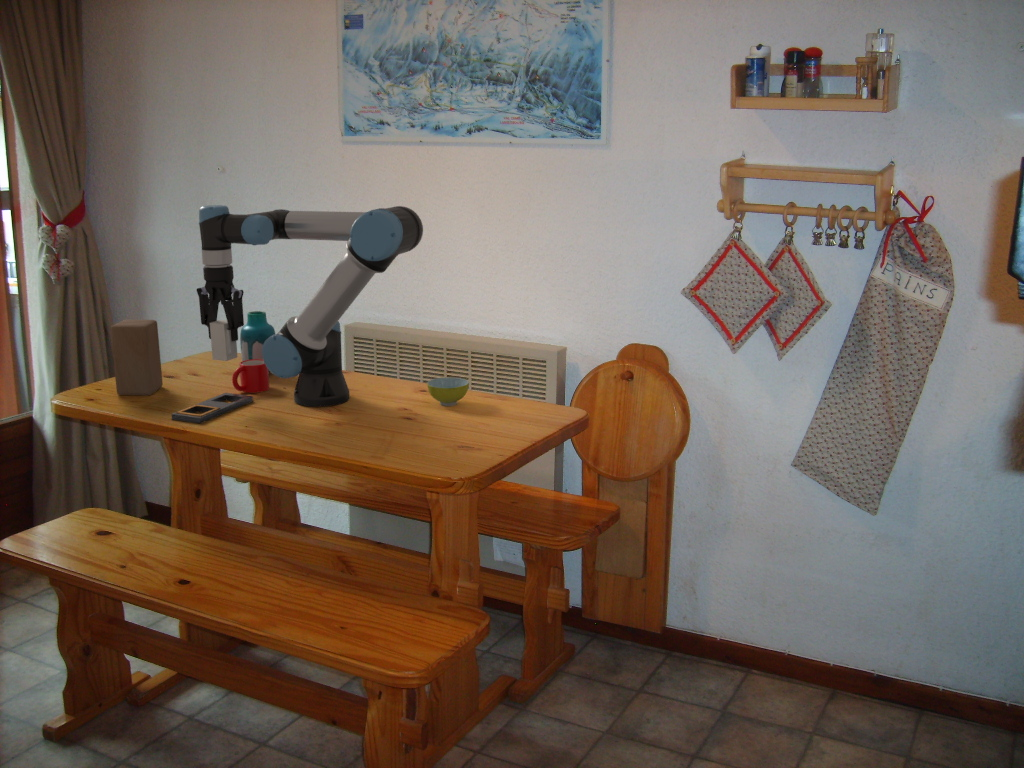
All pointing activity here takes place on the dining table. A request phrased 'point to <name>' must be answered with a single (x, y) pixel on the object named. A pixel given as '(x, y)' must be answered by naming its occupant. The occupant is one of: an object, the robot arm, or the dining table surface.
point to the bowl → (448, 390)
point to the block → (136, 357)
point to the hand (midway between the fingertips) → (224, 351)
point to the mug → (251, 376)
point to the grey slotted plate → (212, 408)
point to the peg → (220, 341)
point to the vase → (255, 335)
